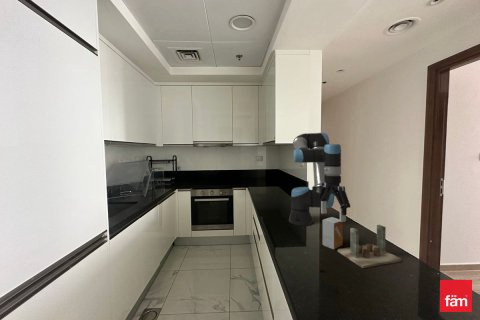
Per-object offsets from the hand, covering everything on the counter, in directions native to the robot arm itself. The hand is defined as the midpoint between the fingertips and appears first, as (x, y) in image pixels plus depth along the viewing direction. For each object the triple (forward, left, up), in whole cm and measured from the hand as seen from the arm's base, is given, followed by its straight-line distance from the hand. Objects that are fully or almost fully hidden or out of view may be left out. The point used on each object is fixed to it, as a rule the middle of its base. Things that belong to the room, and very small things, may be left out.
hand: (332, 217), depth 97 cm
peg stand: (+13, +8, -14) cm, 21 cm away
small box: (0, 0, -15) cm, 15 cm away
